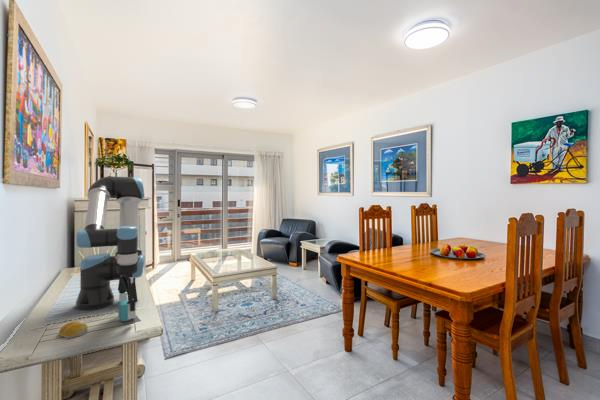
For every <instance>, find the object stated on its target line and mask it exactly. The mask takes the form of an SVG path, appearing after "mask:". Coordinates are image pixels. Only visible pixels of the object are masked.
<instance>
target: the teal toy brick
mask: <svg viewBox="0 0 600 400" xmlns="http://www.w3.org/2000/svg"><path fill="white" fill-rule="evenodd" d="M127 302H129V301H128V299H127V300H126V301H121V302H119V301H118V302H117V303H118V305H117V309H118V310H117V311H118V314H117V315H118V316H117V317H118V320H119V319H120V320H121V322H122V321H126V320H130V319H128V304H127ZM132 319H133V318H132ZM120 320H119V321H120ZM121 322H120V323H121Z"/></svg>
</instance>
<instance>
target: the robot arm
mask: <svg viewBox="0 0 600 400" xmlns="http://www.w3.org/2000/svg"><path fill="white" fill-rule="evenodd" d="M144 188H145V187H144V183H143V180H142V179H141V178H140V177H137V176H136V177H135V176H110V175H109V176H108V175H107V176H104V177H101V178H99V179H97V180H95V182H93V183H92V184H91V185H90V186H89V188H88V190H87V194H86V195H87V198H88V203H87V204H88V206H87V210H86V215H85V222H84V229H79V230H77V232H76V239H75V243H76V246H77V248H79V249H80V248H84V249H85V248H89V249H90V248H102V247H116V249H117V250H116V251H115V255H113V256H111V254H110V253H97V254H93V255H89V256H86V257H84V258H82V260H80V268H79V273H80V276H79V277H80V282H79V285H80V287H79V288H80V290H79V293H78V296H77V298H76V301H75V309H77V310H80V311H81V310H82V311H89V310H90V311H91V310H96V309H102V308H105V307H107V306H110V305H112V304H113V303H114V302H115V295H114V293H113V290H112V287H111V281H118V286H117V291H118V293H119V295H118V296H119V298H118V299H119V300H118V302H121V301H126V300H128V301H129V302H127V304H128V319H132V318H136V316H137V315H136V313H137V312H136V311H137V308H136V307H137V306H136V305H137V302H138V293H137V286H136V285H137V284H136V279H138V278H140V277H142V276H143V272H144V267H145V266H144V265H145V258H146V254H145V253H143V250H142V249H140V248H139V205H140V204H141V203H142V200H144V199H145V189H144ZM110 199H116V203H117V204H119V227H118V228H106V222H107V211H108V210H107V209H108V202H109V200H110Z"/></svg>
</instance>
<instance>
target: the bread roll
mask: <svg viewBox="0 0 600 400" xmlns="http://www.w3.org/2000/svg"><path fill="white" fill-rule="evenodd" d="M88 328H89V327H88V324H87V323H82V322H80V321H78V320H77V321H76V320H75V321H70V322H67V323H65V324H64V325H63V326H62V327H61V328H59V330H58V333H59V335H60V336H61V337H64V338H65V339H70V338H76V337H80V336H83V335H84V334H86V333H87V331H88Z"/></svg>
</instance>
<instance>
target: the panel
mask: <svg viewBox="0 0 600 400" xmlns="http://www.w3.org/2000/svg"><path fill="white" fill-rule="evenodd" d="M118 320H119V322H120V323H121V324H122V325H123V326H125V325H129V324H134V323H137V322H141V319H140V318H139V317H138V316H137V315H136V318H133V319H131V320H128V321H122V322H121V320H120V319H119V318H118Z"/></svg>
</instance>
